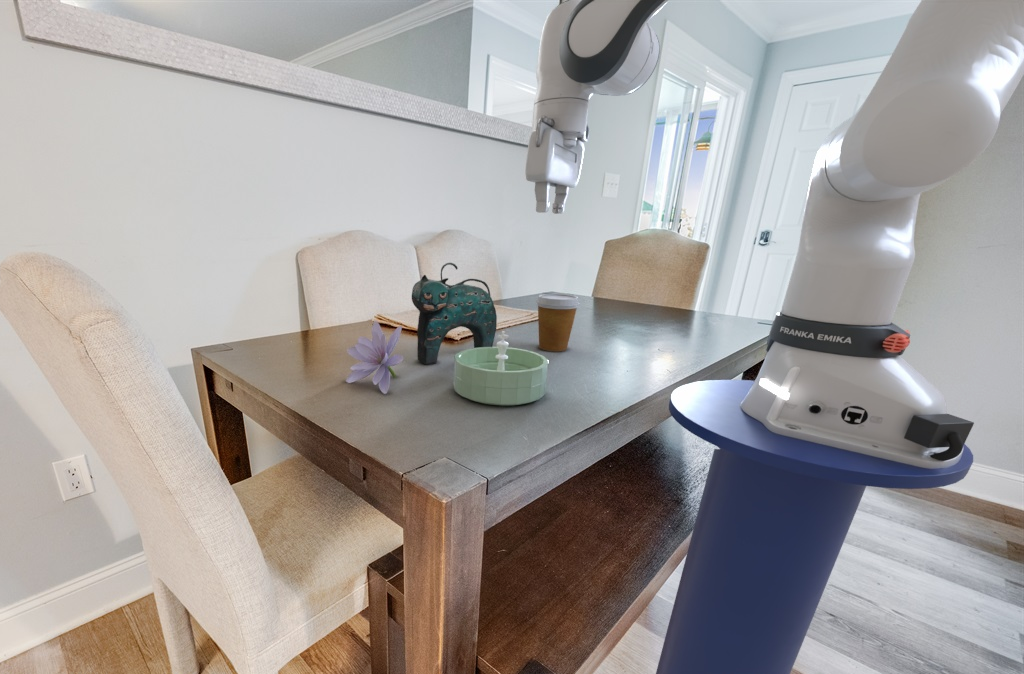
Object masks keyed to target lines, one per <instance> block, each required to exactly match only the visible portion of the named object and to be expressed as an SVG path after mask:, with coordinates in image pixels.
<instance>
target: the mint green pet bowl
mask: <svg viewBox="0 0 1024 674" xmlns="http://www.w3.org/2000/svg"><path fill="white" fill-rule="evenodd" d="M498 354H499V352H498V347H497V346H493V347H479V348H474V347H472V348H466V349H463V350H460V351H459V352H457V353H456V354H455V356H454V358H453V359H454V361H453V388H454V391H455V393H457V394H458V395H459V396H461V397H463V398H466V399H468V400H470V401H473V402H476V403H480V404H484V405H491V406H500V407H501V406H506V407H507V406H519V405H525V404H530V403H532V402H535V401H538V400H541V398H543V397H544V396H545V394H546V388H547V387H546V386H547V380H548V379H547V378H548V377H547V376H548V369H549V359H548V358H547V357H546V356H545V355H542V354H540V353H538V352H536V351H533V350H527V349H523V348H516V347H509V346H508V347H507V350H506V352H505V355H507V356H508V359H504V367H505V371H499V370H497V367H498V361H499V359H497V358H495V357H496V355H498Z"/></svg>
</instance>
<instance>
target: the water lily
mask: <svg viewBox="0 0 1024 674" xmlns="http://www.w3.org/2000/svg"><path fill="white" fill-rule="evenodd" d="M402 328H403V325H399V326H397V328H395V330H394V331H392V333H391V335H390V337H389V339H388V342H387V338H386V334H385V333H383V330H382V327H381V325H380V323H379V322H378V321H377V320H374V321H373V324H372V326H371V339H370V338H368V337H366V336H359V337H358V338H357V343H355V345H354V346H351V347H348V348H347V349H346V351H347V353H348V355H349V356H350V357H352V358H353V359H355V360H357V361H361V362H358V363H355V364H353V365H351V367H349V369H350V370H352V372H350V373H349V375H348V376H347V378H346V379H345V382H346V383H347V384H352V383H355V382H358V381H361V380H363V379H365V378H366V377H368V376H371V374H373V373H374V372H375V373H374V375H373V377H372V383H373V385H374V386H377V385H378V388H379V390H380V391H381V393H383V394H384V395H386V394H387V393H388V391H389V388H390V384H391V376H392V378H396V377H397V374H396V373H395V371H394V370H393V368H392V367H394V366H397V365H398V364H400V363H402V362H403V361H404V357H403V356H402V355H401V354H394V355H392V353H393V351H394V350H395V348H396V346H397V344H398V342H399V339H400V337H401V333H402V330H403V329H402ZM391 355H392V356H391Z"/></svg>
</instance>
